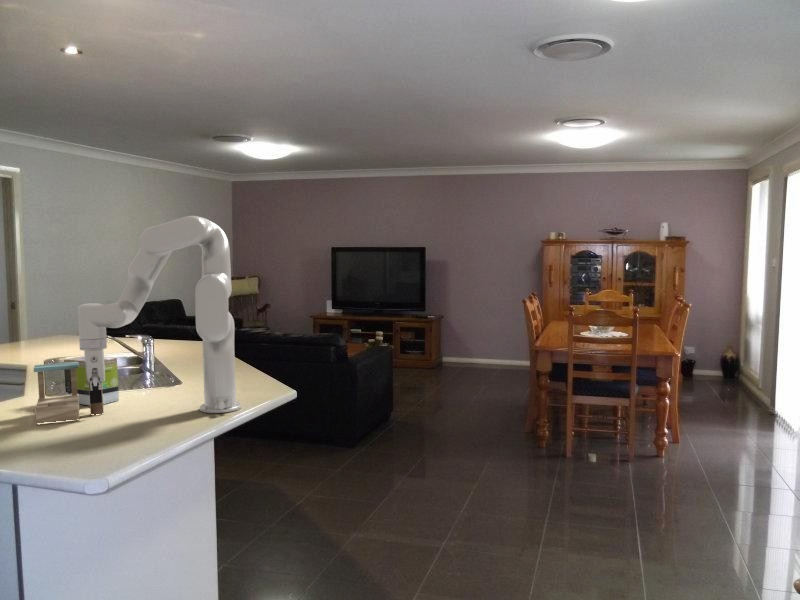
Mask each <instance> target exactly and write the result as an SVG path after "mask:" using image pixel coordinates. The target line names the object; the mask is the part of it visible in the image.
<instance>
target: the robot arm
mask: <svg viewBox="0 0 800 600" xmlns="http://www.w3.org/2000/svg"><path fill="white" fill-rule="evenodd" d="M193 245H194V246H195V245H198V246H199V247H200V248H201V278H200V279H199V280H198V281H197V283H196V286H195V290H194V291H195V293H194V301H195V302H194V303H195V305H194V307H195V313H194V314H195V330H196V332H197V335H198V336H199V337H200V338H201V339H202V366H203V367H202V368H203V369H202V371H203V388H204V389H203V390H204V391H203V393H204V395H203V396H204V398H203V399H204V403H203V404H201V405H199V411H200V412H202V413H206V414H223V413H224V414H225V413H229V412H235V411H237V410H240V409H241V408H242V402H240V401H237V394H236V393H237V390H236V389H237V387H236V363H235V361H236V360H235V353H236V352H235V328H236V327H235V319H234V317H233V316H232V313H230V311H229V298H230V297H231V294H232V290H233V288H232V287H233V286H232V273H231V271H232V270H231V267H232V266H231V254H230V253H231V251H230V250H231V249H230V243H229V239H228V236H227V234H226V233H225V231H224V230H223V229H222V228H221V227H220V226H219V225H218V224H217V223H215V222H213V221H212V220H209V219H208V218H205V217H202V216H198V215H188V216H183V217H180V218H177V219H176V218H175V219H174V220H170V221H168V222H163V223H160V224H157V225H153V226H148V227H147V228H146V229H144V230H143V232H141V234H140V237H139V246H140V247H139V249H138V250H137V253H136V254H135V255H134V257H133V259H132V261H131V262H130V264H129V266H128V268H127V283H126V284H125V286H124V289H123V291H122V293H121V295H120V297H119V298H118V300H117V301H116V302H112V303H107V304H103V303H98V302H97V303H96V302H95V303H92V302H91V303H83V304H80V305H79V306H78V307H77V317H78V319H77V320H78V321H77V322H78V341H79V342H78V343H79V351H83V352H84V353H83V355H84V356H85V368H86V375H87V380H88V382H89V383H90V389H91V390H90V403H91V404H94V403H101V402H102V391H101V388H100V380H101V381H102V380H103V382H104V381H105V365H104V357H105V354H104V353H105V351H104V350H105V349H108V342H107V339H108V338H107V328H110V329H119V328H121V327H124V326H126V325H129V324H131V323H132V322H134V321H135V319H136V318H137V317H138V316H139V313H140V312H141V310H142V308H143V307H144V305H145V303H146V302H147V300H148V297H149V296H150V293H151V291H152V289H153V287H154V284H155V282H156V280H157V279H158V277H159V274H160V273H161V271H162V270H163V267H164V266H165V264H166V263H167V261H168V259H169V257H170V256H171V254H172V252H174V251H177V250H181V249H184V248H187V247H190V246H193ZM98 386H99V388H98ZM92 389H93V390H92Z"/></svg>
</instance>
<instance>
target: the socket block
mask: <svg viewBox="0 0 800 600" xmlns="http://www.w3.org/2000/svg"><path fill="white" fill-rule="evenodd" d="M78 366H79V365H78V362H69V363H64V362H58V363H47V364H46V363H45V364H35V365H34V366H33V373H37V387H38V400H37V402H36V406H35V421H36V423H44V422H56V421H66V420H77V419H79V420H80V404H79V397H78V394H77V378H76V369H78ZM66 369H71V387H72V394H71V395H66V394H64V395H52V396H46V393H45V379H44V377H45V376H44V372H51V371H52V372H54V371H62V370H63V371H64V370H66Z"/></svg>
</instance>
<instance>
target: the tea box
mask: <svg viewBox="0 0 800 600" xmlns="http://www.w3.org/2000/svg"><path fill="white" fill-rule="evenodd" d="M69 362H78V365H79V366H78V369H76V378H77V394H78V397H79V405H83V406H89V405H90V394H89V382H88V380H87V375H86V368H85V355H84V356H78V357H76V356H75V357H71V358H67V359H66V358H64V359H63V363H69ZM104 365H105V381H104V382H103V380H102V393H103V405H107V404H110V402H111V403H115V402H118V401H119V400H120V397H119V396H120V395H119V393H120V392H119V373H118V371H119V370H118V358H117V357H113V356H111V357H110V356H104ZM63 371H64V386H65V387H64V389H65V395H71V394H72V387H71V369H66V370H63ZM100 381H101V380H100ZM114 401H115V402H114ZM106 403H107V404H106Z"/></svg>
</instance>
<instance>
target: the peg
mask: <svg viewBox="0 0 800 600" xmlns="http://www.w3.org/2000/svg"><path fill="white" fill-rule="evenodd" d="M98 388H99V386H98ZM100 388H101V391H102V381H100ZM90 390H91V389H90V383H89V394H90ZM92 390H93V389H92ZM89 409H90V410H89V412H90V415H91V414H94V415H96V414H102V413H104V404H103V393H102V402H101V403H94V404H91V403H90V406H89ZM102 415H103V414H102Z"/></svg>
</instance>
